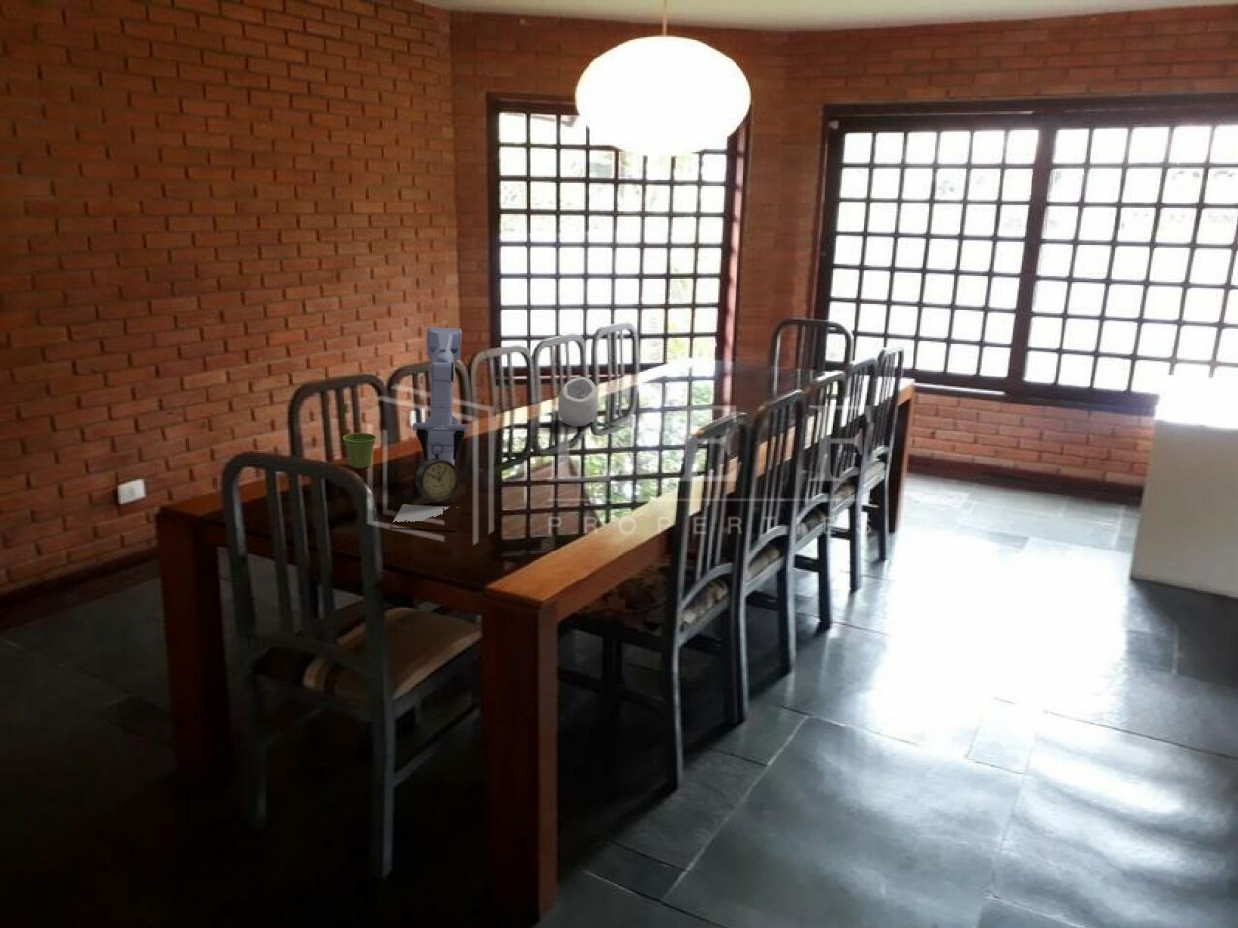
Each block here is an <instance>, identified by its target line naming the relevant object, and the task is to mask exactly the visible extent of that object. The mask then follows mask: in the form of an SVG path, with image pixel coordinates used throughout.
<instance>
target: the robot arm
mask: <svg viewBox="0 0 1238 928" xmlns="http://www.w3.org/2000/svg"><path fill="white" fill-rule="evenodd" d="M462 334H463V333H462V329H461V328H452V327H451V328H450V327H448V328H446V327H431V326H428V328H427V330H426V349H427V351H426V353H427V357H428V360H430V361H431V363H430V364H429V371H428V372H429V377H428V379H429V386H430V387H429V388H430V389H429V390H430V391H431V392H430V409H429V410H430V411H429V412H430V414H429V416H428V417H426V419H425V421H424V422H414V423H413V424H412V431H416V436H417V438H418V440H419V442H420V446H421V450H422V453H423V459H427V460H430V459H434V458H435V457H436V456H435V455H434V454H436V453H438V454H439V453H441V451H442V446H443V451H442V453H441V454H439V459H442V460H446V461H449V462H451V463H452V464H453V465H454V466H455V460H457V459H458V458H457V457H458V453H459V450H460V446H461V444H462V441H463V439H464V437H465V435H466V433H467V434H468V433H470V425H469V424H460V421H459V419H458V418H457V417H456V416H454V415H453V402H454V401H453V400H454V399H453V396H454V395H453V394H454V384H455V376H456V375H455V374H456V366H455V363H456V362H458V361H459V360H460V359H461V358H460V357H462V356H461V355H462V352H461V351H462V338H463V337H462ZM435 443H441V444H442V446H441V445H440V444H436V445H434V444H435ZM433 445H434V447H433V453H434V454H433V453H432V450H431V448H432V446H433Z"/></svg>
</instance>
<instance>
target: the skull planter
mask: <svg viewBox="0 0 1238 928" xmlns="http://www.w3.org/2000/svg"><path fill="white" fill-rule="evenodd" d="M598 393H599V392H598V389H597V387H596V384H595V383H594V382H593V380H591V379H590V378H588V377H585V376H578V377H574V378H572V379H569V380H568V381H567V382H565V384H564V385H563V386H562V388H561V390H560V392H559V393H558V401H557V402H558V404H557V405H558V406H557V407H558V409H557V410H558V413H559V414H558V415H559V416H560V417H559V418H560V419H561V421H562V422H563V423H565V424H566V425H568V426H570V427H571V428H573V429H575V428H576V427H585V426H587V425H589V424H590V423H594V421H595V419H596V415H597V410H598V408H599V404H598V395H599V394H598Z"/></svg>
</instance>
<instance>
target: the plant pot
mask: <svg viewBox="0 0 1238 928" xmlns="http://www.w3.org/2000/svg"><path fill="white" fill-rule="evenodd" d="M342 439H343V441H344V443H345V446H346V452H347V453H346V454H347V458H348V463H349V464H348V465H349V467H352V468H353V469H365V468H367V467H368V468H369V467H371V466H372V460H373V452H374V445H375V443H376V440H377V436H376V435H375V434H373V433H367V432H355V433H353V432H352V433H348V434H344V435H343V437H342Z"/></svg>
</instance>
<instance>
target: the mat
mask: <svg viewBox="0 0 1238 928" xmlns="http://www.w3.org/2000/svg"><path fill="white" fill-rule="evenodd" d="M449 507H450V506H439V505H437V506H435V505H423V506H422V504H406V503H405V504H402V505H401V507H400V509H399V511H398V512H397V515H396V516H395V517H394V519H393V522H395V521H397V522H401V521H402V522H404V521H406V520H407V521H406V522H408V521H410V522H412V521H413V522H415V521H423V520H425V519H426V518H429V517H432V516H433V517H436V516H438V515H440V514H441V515H442V514H443V511H444V510H446V509H448V508H449ZM443 508H444V510H443ZM456 508H457V506H456ZM393 522H392V523H393Z"/></svg>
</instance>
